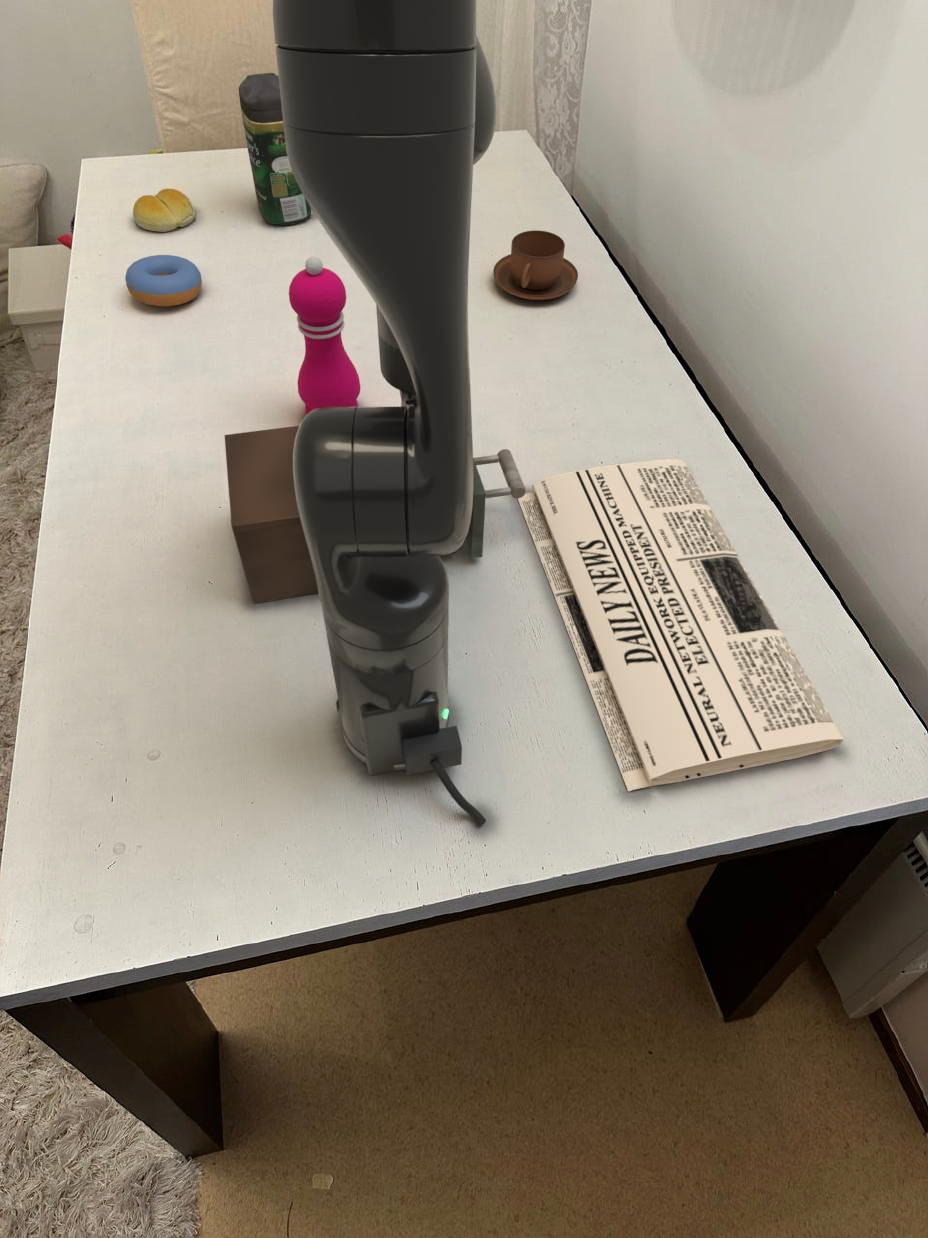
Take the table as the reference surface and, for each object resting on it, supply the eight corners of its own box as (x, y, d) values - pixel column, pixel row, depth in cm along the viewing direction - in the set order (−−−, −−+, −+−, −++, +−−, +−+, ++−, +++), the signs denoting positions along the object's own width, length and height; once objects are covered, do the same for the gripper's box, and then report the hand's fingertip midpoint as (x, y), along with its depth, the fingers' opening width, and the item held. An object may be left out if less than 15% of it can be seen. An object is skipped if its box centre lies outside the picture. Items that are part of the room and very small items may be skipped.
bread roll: (127, 217, 131) (120, 191, 128) (182, 202, 134) (176, 176, 131) (148, 239, 127) (141, 213, 123) (204, 223, 130) (198, 197, 127)
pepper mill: (353, 440, 99) (336, 280, 83) (294, 431, 100) (266, 271, 84) (370, 402, 103) (357, 244, 88) (313, 394, 104) (290, 236, 88)
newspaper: (836, 750, 74) (848, 733, 72) (628, 791, 71) (634, 776, 69) (680, 473, 96) (685, 454, 94) (516, 496, 93) (518, 477, 91)
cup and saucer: (579, 309, 117) (584, 267, 112) (492, 306, 117) (494, 264, 112) (573, 264, 124) (579, 223, 120) (492, 262, 124) (494, 220, 120)
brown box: (380, 495, 93) (374, 415, 85) (400, 580, 85) (396, 502, 77) (244, 514, 91) (224, 434, 82) (252, 603, 83) (231, 526, 75)
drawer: (501, 475, 94) (505, 410, 87) (529, 550, 87) (536, 485, 80) (335, 498, 91) (326, 433, 84) (350, 577, 84) (342, 513, 77)
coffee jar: (253, 202, 134) (230, 70, 120) (302, 195, 136) (285, 64, 122) (266, 230, 129) (244, 96, 114) (316, 223, 131) (301, 89, 116)
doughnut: (188, 269, 121) (181, 238, 118) (216, 302, 116) (209, 270, 113) (121, 288, 118) (110, 257, 114) (146, 323, 113) (136, 291, 109)
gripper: (365, 282, 74) (376, 436, 88) (392, 379, 66) (401, 533, 79) (448, 274, 75) (447, 427, 89) (486, 368, 67) (478, 521, 80)
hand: (425, 476), depth 84 cm, fingers closed on pill bottle, 4 cm apart
